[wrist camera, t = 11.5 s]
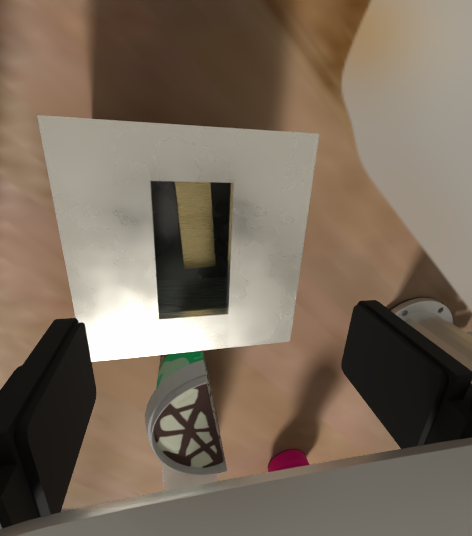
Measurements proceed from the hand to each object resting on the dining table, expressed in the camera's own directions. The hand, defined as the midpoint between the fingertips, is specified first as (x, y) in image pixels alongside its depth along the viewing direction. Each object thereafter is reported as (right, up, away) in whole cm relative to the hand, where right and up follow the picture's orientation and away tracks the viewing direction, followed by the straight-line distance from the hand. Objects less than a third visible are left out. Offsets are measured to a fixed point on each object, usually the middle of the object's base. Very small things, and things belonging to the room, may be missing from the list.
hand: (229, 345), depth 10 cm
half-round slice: (-6, -8, +24) cm, 26 cm away
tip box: (-5, +8, +17) cm, 19 cm away
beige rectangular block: (-3, +10, +13) cm, 17 cm away
